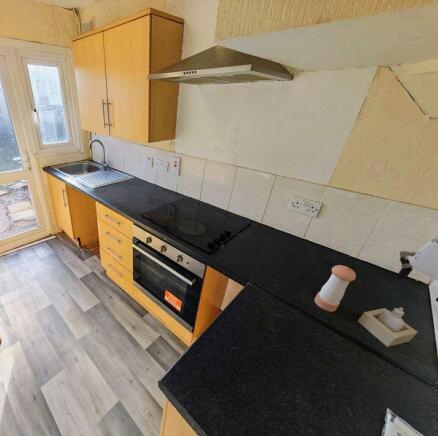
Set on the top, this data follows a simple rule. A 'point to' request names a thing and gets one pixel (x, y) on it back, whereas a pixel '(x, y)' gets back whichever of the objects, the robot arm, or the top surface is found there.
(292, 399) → the top surface
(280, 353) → the top surface
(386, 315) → the eye dropper bottle
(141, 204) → the top surface
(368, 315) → the socket block
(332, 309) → the salt shaker
